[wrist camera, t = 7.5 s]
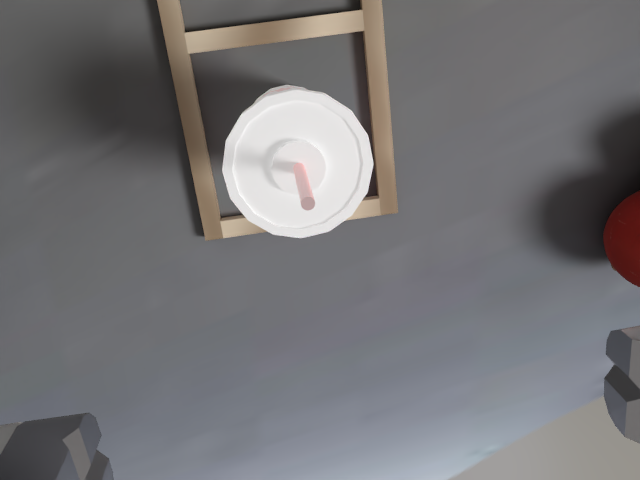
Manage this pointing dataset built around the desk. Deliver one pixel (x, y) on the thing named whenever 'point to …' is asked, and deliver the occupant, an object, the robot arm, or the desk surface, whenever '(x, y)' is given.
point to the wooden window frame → (272, 32)
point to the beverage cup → (297, 162)
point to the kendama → (624, 238)
